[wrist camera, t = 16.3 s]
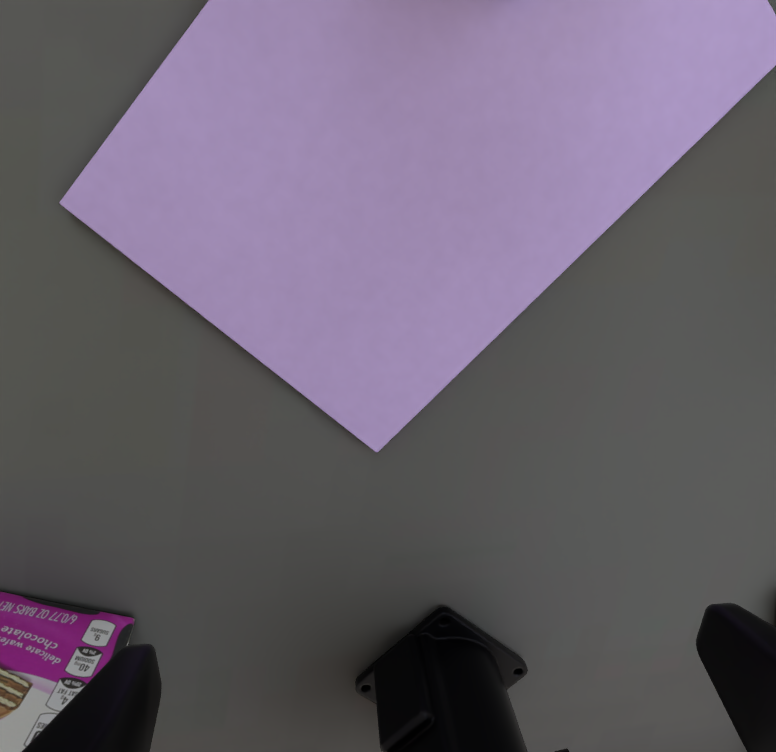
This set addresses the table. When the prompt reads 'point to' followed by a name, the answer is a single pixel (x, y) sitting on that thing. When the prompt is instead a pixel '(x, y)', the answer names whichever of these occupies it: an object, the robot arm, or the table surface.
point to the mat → (403, 170)
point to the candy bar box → (49, 660)
